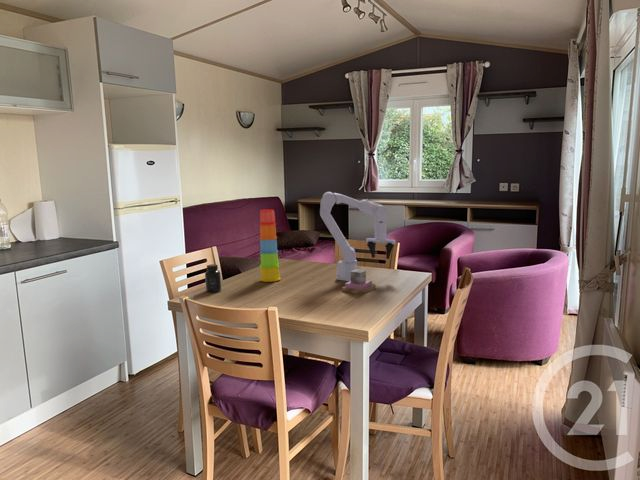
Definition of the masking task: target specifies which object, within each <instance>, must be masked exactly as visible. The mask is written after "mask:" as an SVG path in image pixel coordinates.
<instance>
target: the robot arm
mask: <svg viewBox="0 0 640 480" xmlns="http://www.w3.org/2000/svg"><path fill="white" fill-rule="evenodd" d="M335 203H336V205H339V204H342V203H343V204H346V205H349V206H353V207H356V208H358V210H359V211H360V212H363V213H365V214H368V215H371V216H374V222H373V223H374V230H373V231H374V237H367V238H365V242H366V243H367V245H366V246H367V247H368V249H369V251H370V254H371V258H372V259H373V258H376V246H377V245H376V244H385V245H384V246H385V250H386V255H385V256H386V258H385V259H386V260H388V259H390V257H391V253H392V250H393V248H394V246H395V244H396V239H391V238H387V237H388V236H387V215H388V210H387V208H386V207H385V206H384V205H382V204H380V203H379V202H372V201H370V200H369V199H368V198H366V199H361V200H358V199H355V198H353V197H350V196H347V195H344V194H341V193H337V192H332V191H326V192H324V193H323V194H322V197H321V199H320V208H319V215H320V217H321V220H322V221H323V222H324V224H325V226H326V228H327V229H328V231H329V232H330V234H331V236H332V238H334V240H335V242H336V244H337V246H338V247H339V249H340V251H341V253H342V258H343V259H342V260H339V261H338V262H337V264H336V278H335V280H339V281H344V282H349V281H351V271H353V270H356V269H358V268H357V267H358V264H357V263H358V260H357V252H356V249H355V248H354V247H353V246H351V245H350V243H349V242H348V241H347V238H346V237H345V236H344V234H343V232H342V231H341V229H340V227H339V226H338V224H337V222H336V221H335V219H334V217H333V215H332V214H331V211H332V208H333V207H334V205H335Z"/></svg>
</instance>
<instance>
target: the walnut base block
mask: <svg viewBox="0 0 640 480" xmlns="http://www.w3.org/2000/svg"><path fill="white" fill-rule="evenodd" d="M375 289H376V284H373V283H372V285H371V286H369V287H367V288H365V289H363V290H356V289H350V288H345V285H344V286H342V287H341V292H343V293H344V292H345V293H350V294H355V295H364V294H365V293H369V292H371V291H372V290H375Z"/></svg>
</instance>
